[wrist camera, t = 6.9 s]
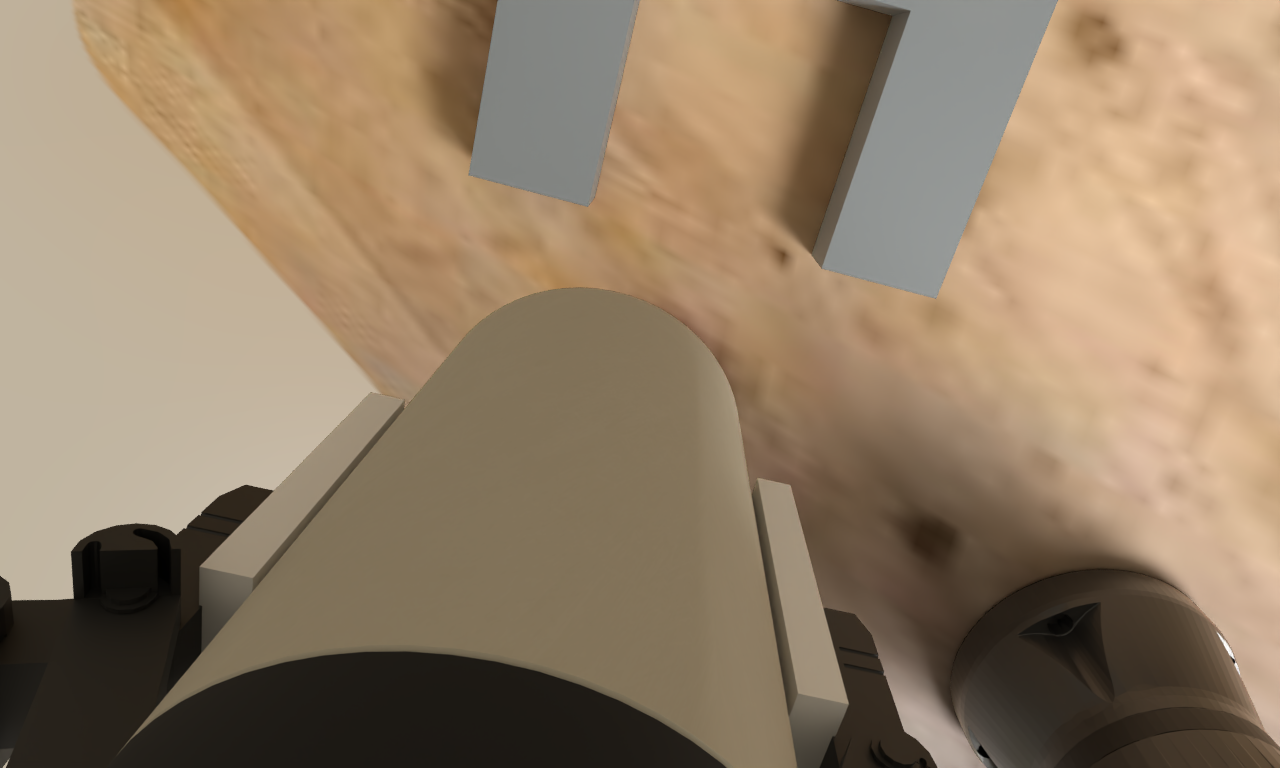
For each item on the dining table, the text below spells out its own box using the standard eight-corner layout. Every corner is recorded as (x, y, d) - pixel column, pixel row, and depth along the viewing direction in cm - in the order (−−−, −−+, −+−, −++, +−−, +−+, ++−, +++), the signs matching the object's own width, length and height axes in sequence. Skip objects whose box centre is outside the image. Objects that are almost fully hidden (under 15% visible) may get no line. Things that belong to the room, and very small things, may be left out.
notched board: (917, 282, 39) (935, 298, 36) (484, 167, 38) (468, 175, 35) (1081, -130, 32) (1119, -150, 30) (562, -282, 31) (550, -317, 29)
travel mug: (760, 302, 19) (1307, 1868, 2) (716, 574, 22) (826, 2134, 5) (437, 266, 19) (-1203, 1549, 2) (436, 542, 22) (-322, 1984, 5)
